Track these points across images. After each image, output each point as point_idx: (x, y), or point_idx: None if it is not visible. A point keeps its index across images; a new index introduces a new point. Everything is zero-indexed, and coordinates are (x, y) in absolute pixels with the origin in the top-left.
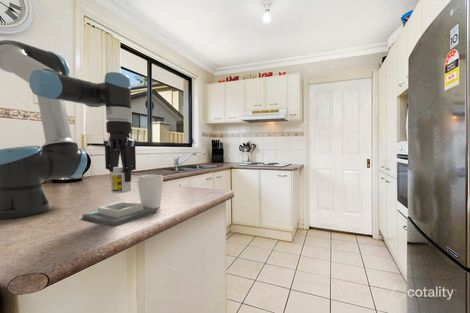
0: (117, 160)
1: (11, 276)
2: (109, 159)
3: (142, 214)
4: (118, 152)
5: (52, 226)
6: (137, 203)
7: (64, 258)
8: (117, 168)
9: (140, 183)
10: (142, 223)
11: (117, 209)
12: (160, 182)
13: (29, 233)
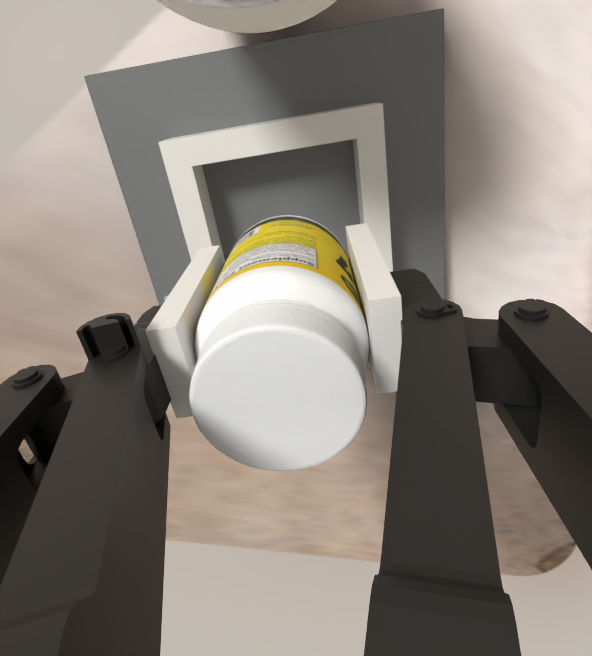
0: (133, 460)
1: (527, 570)
2: (15, 536)
3: (442, 158)
4: (107, 623)
5: (215, 456)
6: (324, 120)
7: (550, 505)
8: (336, 449)
9: (259, 27)
10: (534, 227)
11: (218, 212)
12: None
13: (241, 508)
